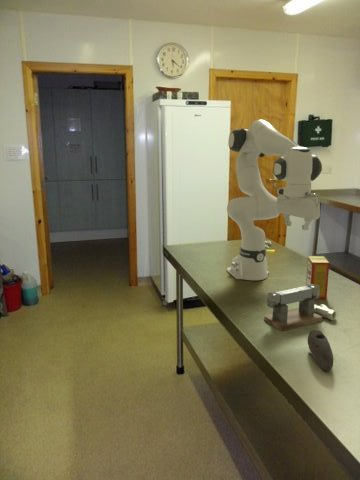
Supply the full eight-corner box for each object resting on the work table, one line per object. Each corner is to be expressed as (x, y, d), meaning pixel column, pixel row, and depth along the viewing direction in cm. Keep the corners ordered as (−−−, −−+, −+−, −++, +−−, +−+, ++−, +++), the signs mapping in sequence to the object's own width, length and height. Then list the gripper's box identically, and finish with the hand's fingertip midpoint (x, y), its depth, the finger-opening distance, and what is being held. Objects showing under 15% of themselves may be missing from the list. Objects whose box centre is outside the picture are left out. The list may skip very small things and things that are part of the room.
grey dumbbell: (264, 304, 131) (264, 293, 130) (312, 293, 140) (313, 283, 139) (272, 308, 127) (272, 297, 127) (321, 297, 136) (322, 287, 135)
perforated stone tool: (338, 377, 101) (340, 354, 100) (318, 376, 102) (319, 353, 100) (323, 348, 116) (324, 328, 114) (305, 348, 116) (307, 327, 115)
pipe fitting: (319, 311, 144) (310, 315, 140) (320, 301, 143) (311, 305, 139) (339, 317, 138) (331, 321, 134) (340, 307, 138) (332, 311, 133)
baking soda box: (326, 299, 153) (329, 261, 150) (310, 298, 154) (312, 261, 151) (321, 290, 163) (323, 255, 159) (305, 290, 163) (307, 255, 160)
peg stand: (264, 319, 136) (264, 300, 135) (302, 310, 143) (303, 292, 142) (281, 331, 127) (282, 310, 126) (322, 320, 134) (323, 301, 133)
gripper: (325, 193, 131) (323, 231, 135) (287, 188, 150) (285, 222, 153) (311, 194, 129) (309, 233, 132) (274, 189, 147) (273, 224, 150)
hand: (296, 227), depth 143 cm, fingers open, 8 cm apart
